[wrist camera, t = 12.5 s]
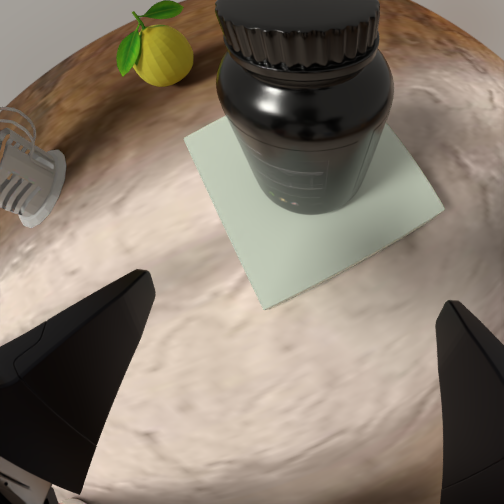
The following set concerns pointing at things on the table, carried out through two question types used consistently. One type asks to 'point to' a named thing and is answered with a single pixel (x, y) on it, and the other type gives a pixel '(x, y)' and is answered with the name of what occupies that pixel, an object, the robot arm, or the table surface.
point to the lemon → (156, 49)
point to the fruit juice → (72, 501)
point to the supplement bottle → (305, 95)
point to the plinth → (309, 226)
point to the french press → (29, 176)
